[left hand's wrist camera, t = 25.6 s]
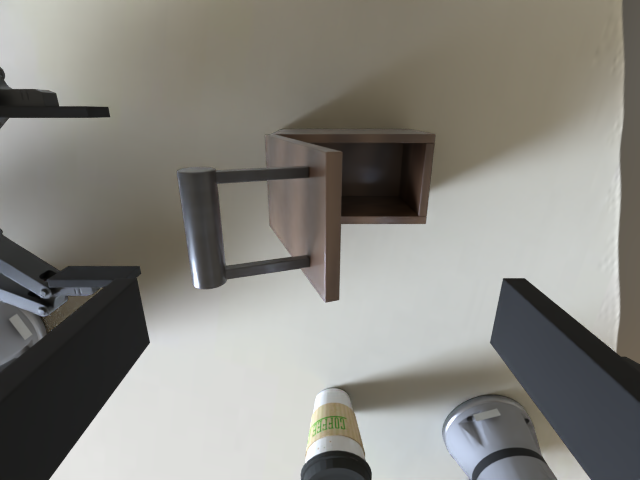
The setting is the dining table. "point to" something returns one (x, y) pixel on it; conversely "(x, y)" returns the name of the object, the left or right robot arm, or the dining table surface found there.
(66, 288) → the right robot arm
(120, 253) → the dining table surface
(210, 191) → the panel with cylinder handle
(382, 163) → the chest
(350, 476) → the coffee cup
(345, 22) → the dining table surface
